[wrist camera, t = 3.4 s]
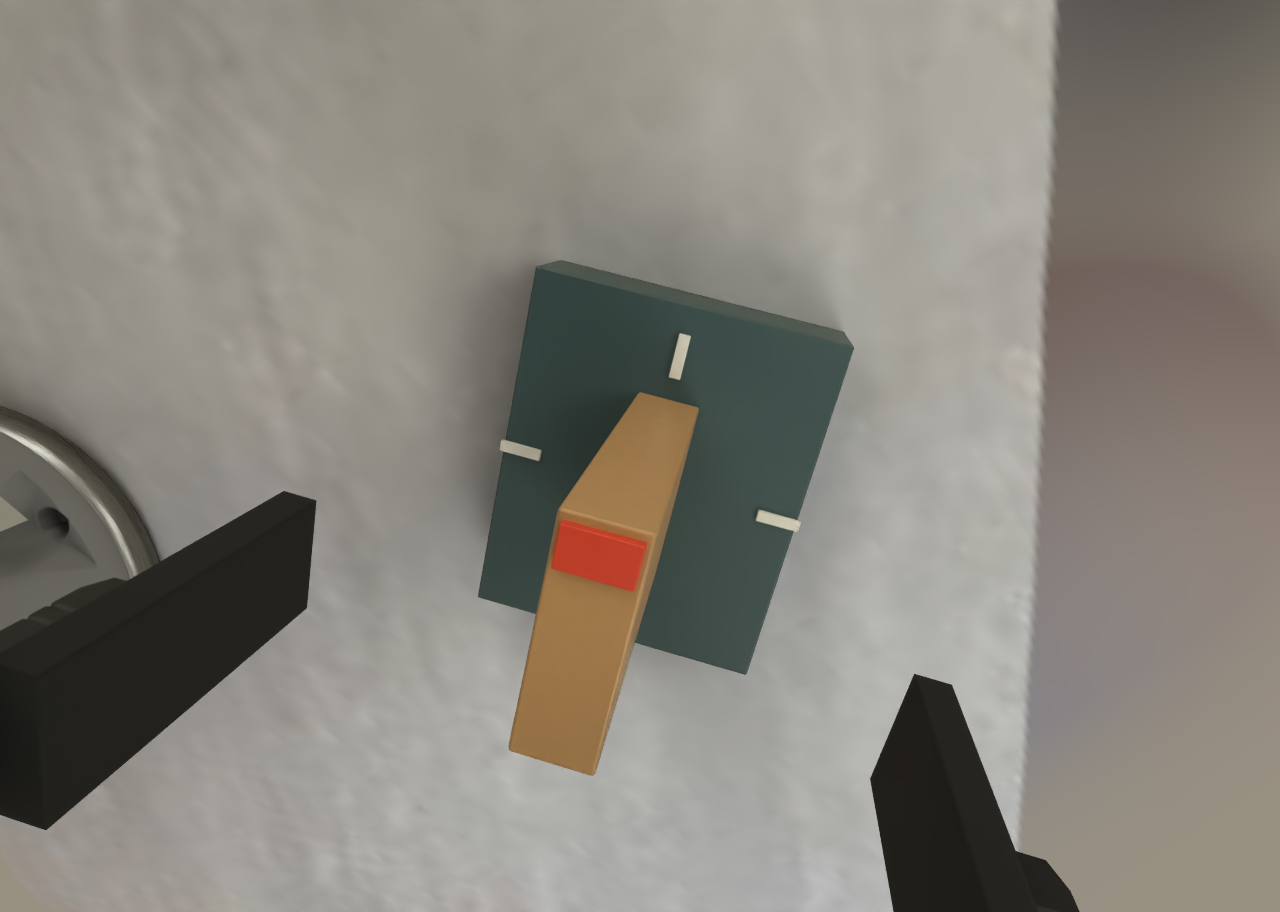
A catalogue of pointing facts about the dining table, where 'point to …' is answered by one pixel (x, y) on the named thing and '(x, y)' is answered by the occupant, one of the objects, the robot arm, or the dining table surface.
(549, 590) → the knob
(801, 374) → the panel
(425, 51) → the dining table surface
